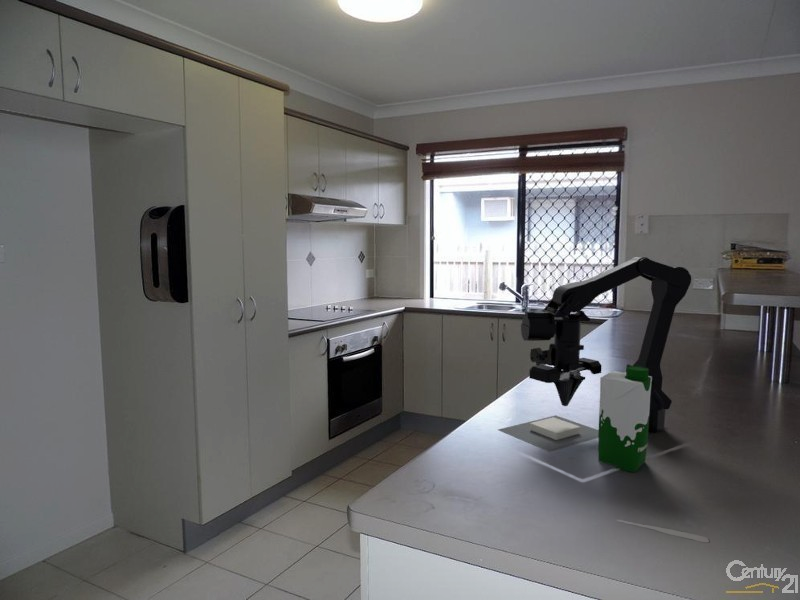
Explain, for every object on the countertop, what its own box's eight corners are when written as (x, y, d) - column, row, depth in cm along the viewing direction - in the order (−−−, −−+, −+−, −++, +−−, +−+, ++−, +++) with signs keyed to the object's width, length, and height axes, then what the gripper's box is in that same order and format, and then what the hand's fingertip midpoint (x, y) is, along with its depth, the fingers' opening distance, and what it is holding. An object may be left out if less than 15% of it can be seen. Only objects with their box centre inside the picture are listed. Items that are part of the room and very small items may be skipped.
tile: (580, 426, 127) (556, 433, 122) (580, 434, 127) (556, 440, 122) (553, 417, 133) (529, 423, 129) (553, 424, 133) (529, 430, 129)
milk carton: (638, 475, 106) (643, 374, 104) (591, 463, 112) (595, 367, 109) (651, 461, 113) (656, 366, 110) (606, 451, 118) (610, 359, 116)
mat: (609, 436, 127) (609, 433, 127) (549, 454, 116) (549, 451, 116) (555, 417, 141) (555, 415, 140) (497, 432, 130) (497, 429, 130)
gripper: (566, 331, 139) (564, 391, 141) (512, 338, 129) (511, 403, 131) (604, 338, 130) (601, 402, 132) (549, 346, 120) (547, 415, 121)
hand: (564, 405), depth 129 cm, fingers closed
